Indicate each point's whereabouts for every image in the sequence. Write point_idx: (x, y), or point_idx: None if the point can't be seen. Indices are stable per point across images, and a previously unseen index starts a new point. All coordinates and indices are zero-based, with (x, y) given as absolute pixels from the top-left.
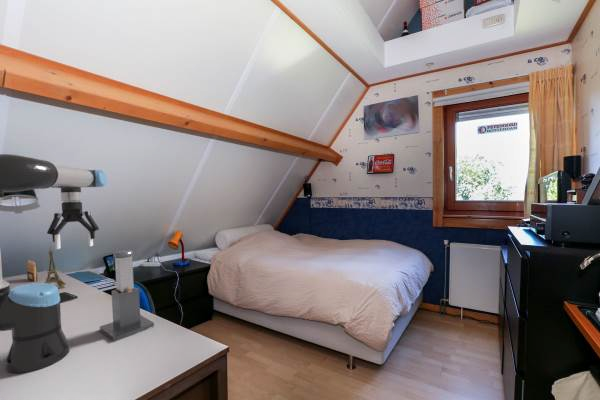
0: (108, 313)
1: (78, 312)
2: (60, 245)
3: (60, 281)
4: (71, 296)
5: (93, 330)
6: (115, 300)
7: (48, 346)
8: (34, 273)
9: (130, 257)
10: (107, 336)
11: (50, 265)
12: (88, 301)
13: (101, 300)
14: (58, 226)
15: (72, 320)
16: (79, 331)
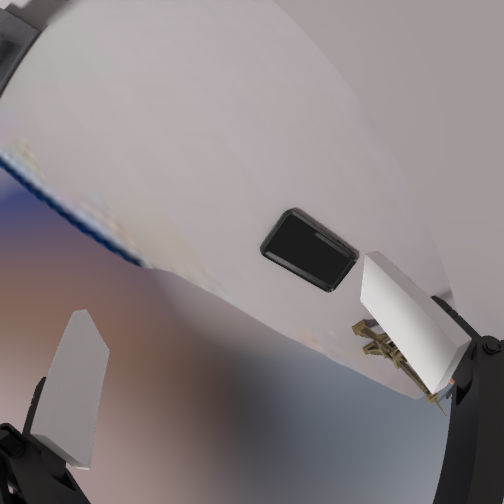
0: (65, 119)
1: (163, 122)
2: (373, 315)
3: (375, 348)
4: (284, 257)
5: (53, 28)
6: None
7: None
8: None
9: None
10: (17, 17)
11: None
12: (197, 217)
13: (157, 224)
14: (500, 450)
15: (141, 66)
16: (82, 17)
